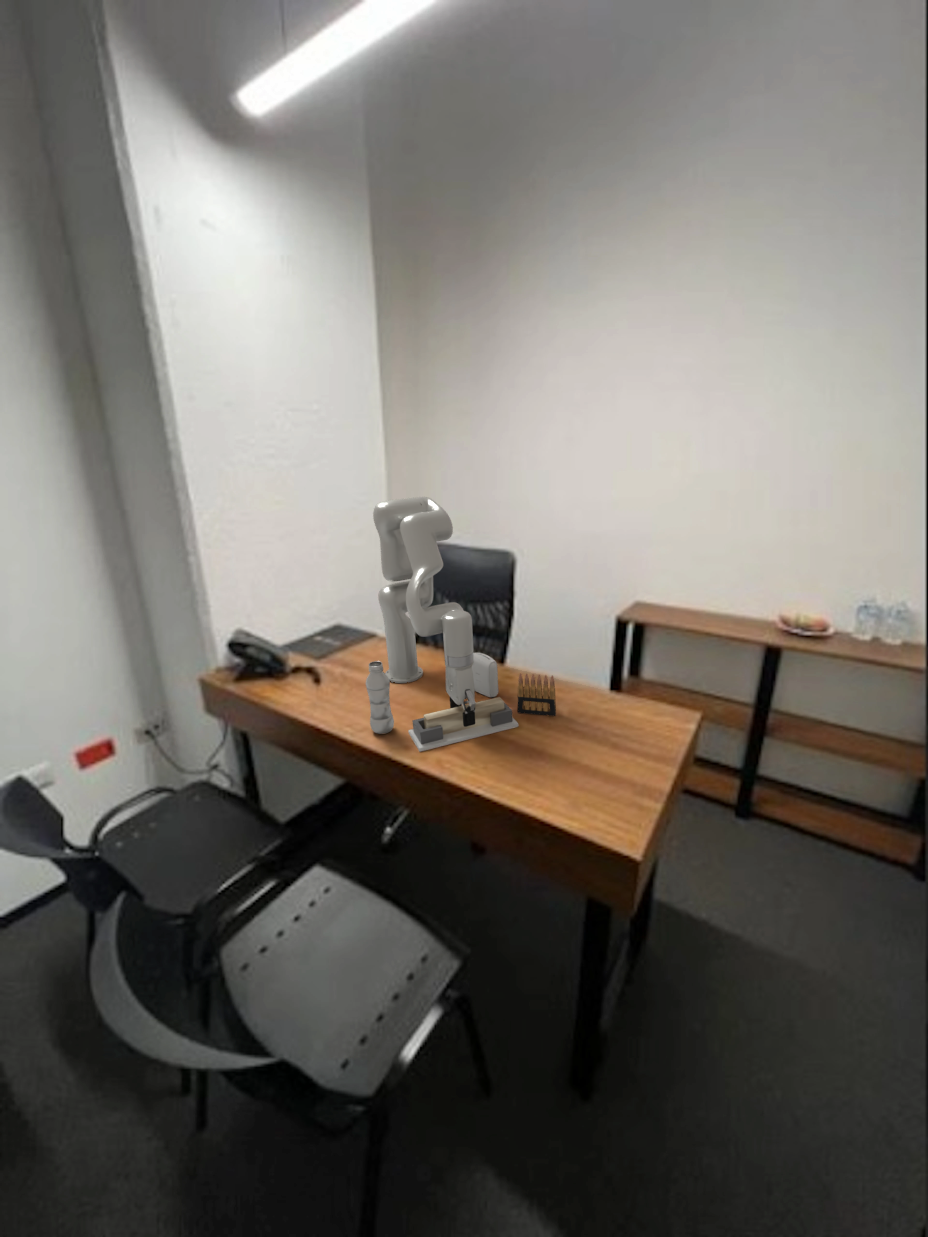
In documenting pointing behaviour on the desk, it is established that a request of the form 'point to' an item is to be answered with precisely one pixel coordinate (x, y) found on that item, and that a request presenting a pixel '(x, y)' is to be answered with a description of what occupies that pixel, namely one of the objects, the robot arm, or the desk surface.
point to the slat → (462, 716)
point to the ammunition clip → (536, 696)
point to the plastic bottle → (379, 699)
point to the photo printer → (485, 675)
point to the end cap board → (435, 736)
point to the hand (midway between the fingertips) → (462, 716)
